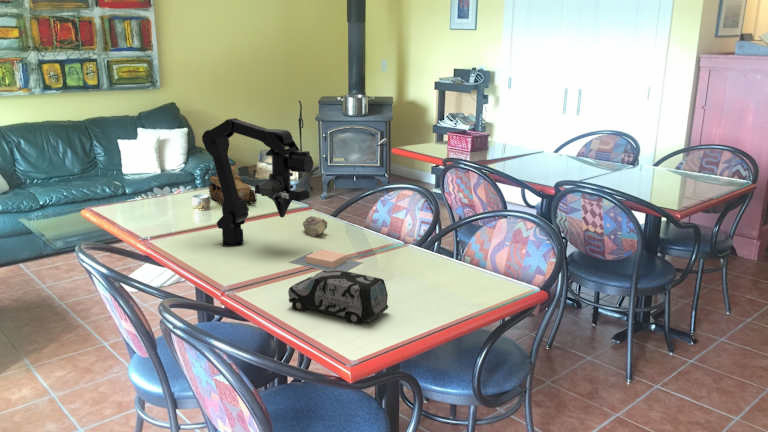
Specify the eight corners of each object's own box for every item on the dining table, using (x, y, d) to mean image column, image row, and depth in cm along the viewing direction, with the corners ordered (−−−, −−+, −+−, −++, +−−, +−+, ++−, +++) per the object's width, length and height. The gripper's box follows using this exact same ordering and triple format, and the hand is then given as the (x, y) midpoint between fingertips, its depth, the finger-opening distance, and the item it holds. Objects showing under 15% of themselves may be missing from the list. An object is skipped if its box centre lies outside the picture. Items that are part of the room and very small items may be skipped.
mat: (288, 263, 199) (288, 262, 199) (311, 253, 209) (311, 252, 209) (341, 275, 189) (341, 274, 189) (363, 263, 199) (363, 262, 199)
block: (305, 256, 197) (332, 261, 192) (321, 249, 204) (346, 254, 199) (305, 263, 198) (332, 269, 193) (321, 256, 204) (347, 261, 200)
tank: (228, 211, 261) (226, 175, 257) (208, 197, 283) (206, 164, 280) (257, 207, 268) (256, 172, 264) (236, 194, 290) (234, 162, 286)
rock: (323, 224, 221) (332, 213, 230) (293, 221, 224) (303, 210, 233) (324, 242, 224) (334, 230, 233) (294, 239, 227) (305, 228, 235)
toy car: (309, 295, 174) (308, 260, 171) (389, 313, 163) (390, 276, 160) (286, 309, 165) (285, 272, 162) (369, 329, 154) (369, 290, 151)
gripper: (241, 170, 201) (243, 217, 205) (287, 178, 192) (288, 227, 196) (265, 165, 210) (267, 210, 215) (310, 172, 201) (310, 219, 205)
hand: (282, 217), depth 207 cm, fingers closed
